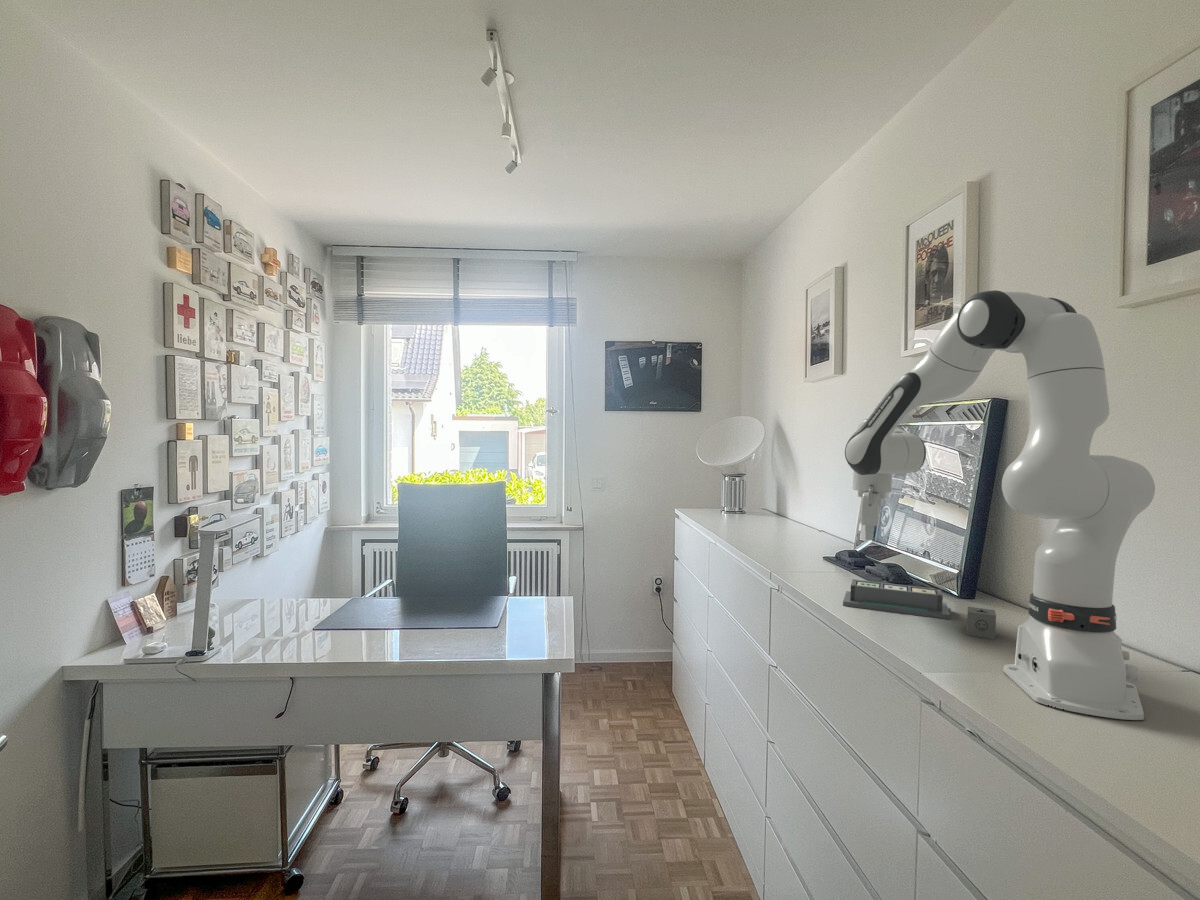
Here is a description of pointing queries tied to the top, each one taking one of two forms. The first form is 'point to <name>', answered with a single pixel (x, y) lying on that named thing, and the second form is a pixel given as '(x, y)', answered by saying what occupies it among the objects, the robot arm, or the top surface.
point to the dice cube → (981, 622)
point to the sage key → (868, 584)
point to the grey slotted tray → (897, 600)
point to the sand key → (923, 591)
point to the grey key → (895, 587)
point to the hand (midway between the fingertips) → (869, 539)
